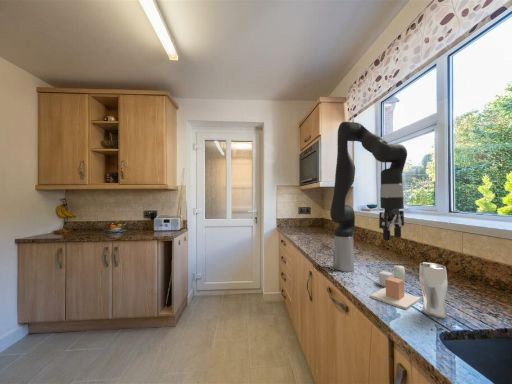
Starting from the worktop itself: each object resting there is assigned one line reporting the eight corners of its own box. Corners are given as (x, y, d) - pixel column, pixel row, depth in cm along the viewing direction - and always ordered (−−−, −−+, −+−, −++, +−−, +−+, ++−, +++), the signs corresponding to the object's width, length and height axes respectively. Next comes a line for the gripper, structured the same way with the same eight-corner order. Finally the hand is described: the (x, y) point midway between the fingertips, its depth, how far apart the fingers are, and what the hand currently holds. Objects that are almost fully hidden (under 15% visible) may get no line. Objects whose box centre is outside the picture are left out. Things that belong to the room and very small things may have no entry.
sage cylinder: (392, 280, 100) (392, 266, 100) (396, 278, 102) (396, 264, 102) (402, 282, 97) (402, 268, 97) (406, 280, 99) (406, 266, 99)
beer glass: (415, 308, 74) (413, 262, 75) (435, 307, 75) (433, 262, 75) (433, 319, 67) (431, 269, 68) (455, 318, 68) (452, 268, 68)
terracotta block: (385, 295, 82) (385, 279, 82) (391, 292, 85) (390, 276, 85) (399, 300, 79) (398, 282, 79) (404, 296, 81) (403, 280, 81)
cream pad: (370, 297, 83) (369, 295, 83) (385, 289, 90) (385, 287, 90) (406, 310, 73) (406, 307, 73) (420, 299, 80) (420, 297, 80)
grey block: (379, 284, 95) (378, 272, 95) (383, 282, 97) (383, 270, 97) (389, 287, 92) (388, 275, 92) (393, 285, 94) (393, 273, 94)
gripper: (390, 196, 92) (391, 235, 92) (371, 196, 84) (372, 239, 84) (411, 196, 86) (411, 238, 86) (393, 196, 78) (393, 242, 78)
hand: (392, 238), depth 85 cm, fingers open, 8 cm apart
